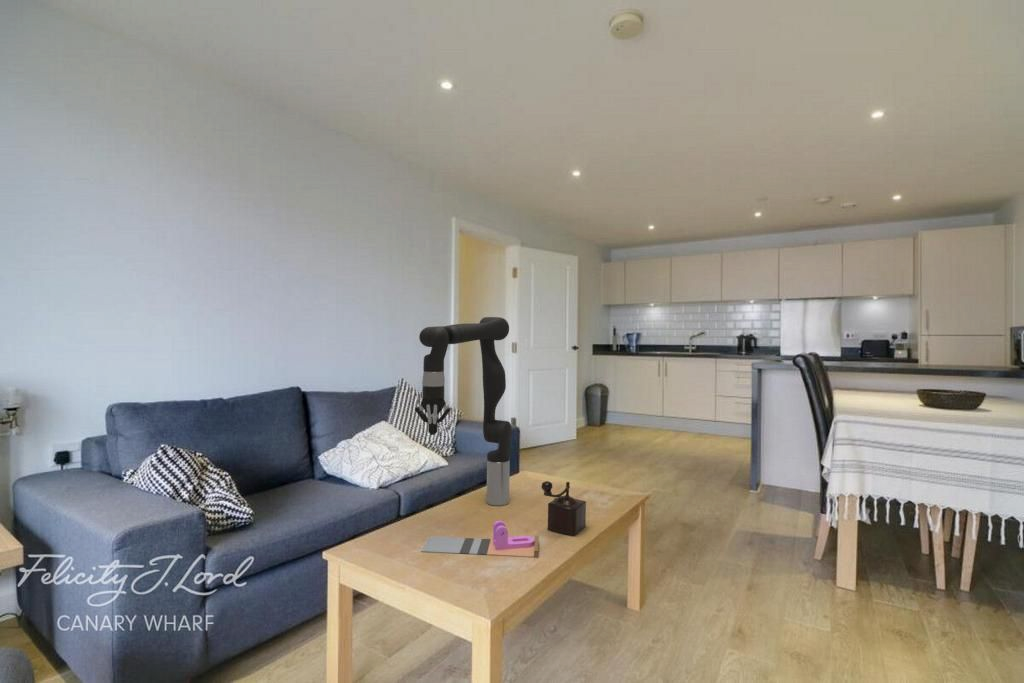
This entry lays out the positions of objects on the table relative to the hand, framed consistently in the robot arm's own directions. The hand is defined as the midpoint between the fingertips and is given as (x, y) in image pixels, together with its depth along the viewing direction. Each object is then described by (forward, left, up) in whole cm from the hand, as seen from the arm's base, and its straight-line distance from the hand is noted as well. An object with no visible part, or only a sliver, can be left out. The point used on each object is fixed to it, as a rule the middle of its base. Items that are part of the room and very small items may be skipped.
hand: (432, 434), depth 165 cm
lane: (+12, +20, -33) cm, 40 cm away
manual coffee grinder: (-4, +45, -33) cm, 56 cm away
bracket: (+10, +30, -33) cm, 45 cm away
